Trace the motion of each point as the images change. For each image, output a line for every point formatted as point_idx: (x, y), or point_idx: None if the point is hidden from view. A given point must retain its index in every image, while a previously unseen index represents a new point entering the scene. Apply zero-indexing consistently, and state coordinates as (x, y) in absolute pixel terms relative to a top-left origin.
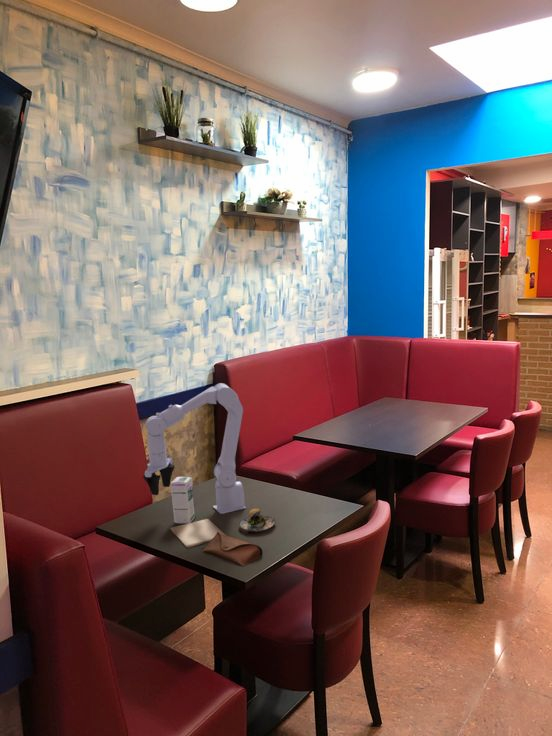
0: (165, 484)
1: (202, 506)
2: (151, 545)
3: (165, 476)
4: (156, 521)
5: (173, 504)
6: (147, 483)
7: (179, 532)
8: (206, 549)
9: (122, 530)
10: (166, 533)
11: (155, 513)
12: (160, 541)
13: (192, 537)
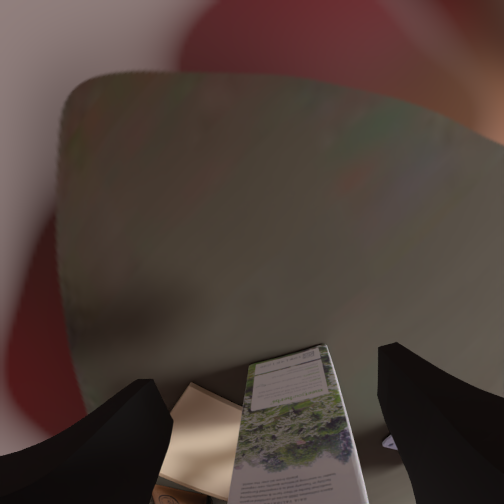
0: (386, 384)
1: (446, 346)
2: (78, 381)
3: (425, 458)
4: (225, 271)
5: (240, 434)
6: (39, 444)
7: (181, 426)
8: (152, 494)
9: (78, 190)
10: (157, 384)
11: (312, 186)
12: (109, 393)
13: (179, 462)
